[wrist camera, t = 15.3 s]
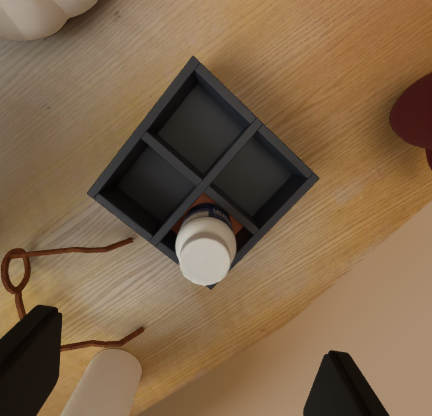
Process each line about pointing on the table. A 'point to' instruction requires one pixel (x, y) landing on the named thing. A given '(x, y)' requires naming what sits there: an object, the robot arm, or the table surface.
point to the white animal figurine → (37, 17)
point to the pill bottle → (206, 244)
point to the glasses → (17, 290)
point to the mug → (415, 115)
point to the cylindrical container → (106, 386)
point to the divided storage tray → (201, 166)
